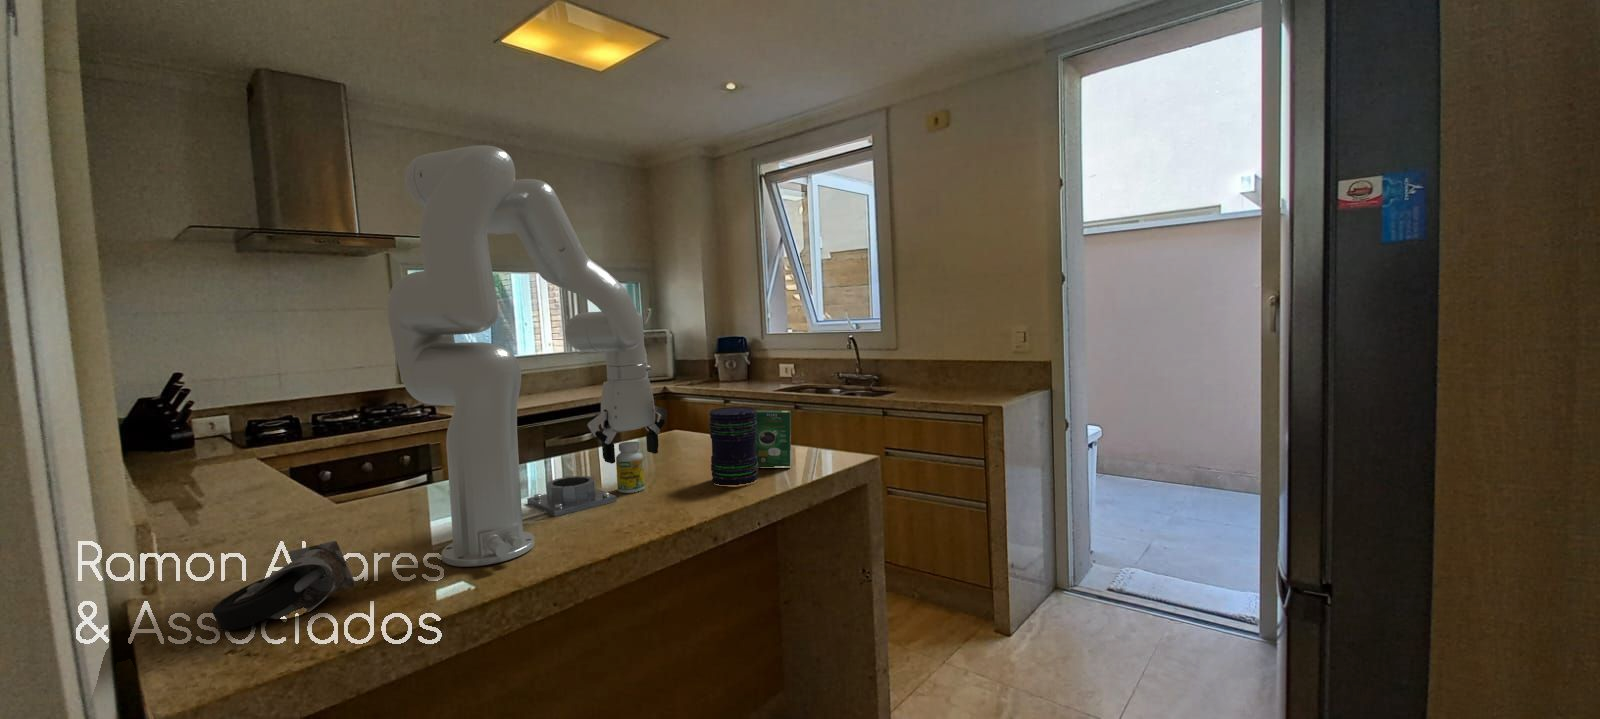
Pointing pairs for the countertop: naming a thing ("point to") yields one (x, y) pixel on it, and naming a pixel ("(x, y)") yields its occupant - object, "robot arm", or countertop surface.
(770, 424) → the coffee box
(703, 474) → the countertop surface
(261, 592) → the caster wheel
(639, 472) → the supplement bottle
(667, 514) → the countertop surface
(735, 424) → the storage jar
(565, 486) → the pipe flange
